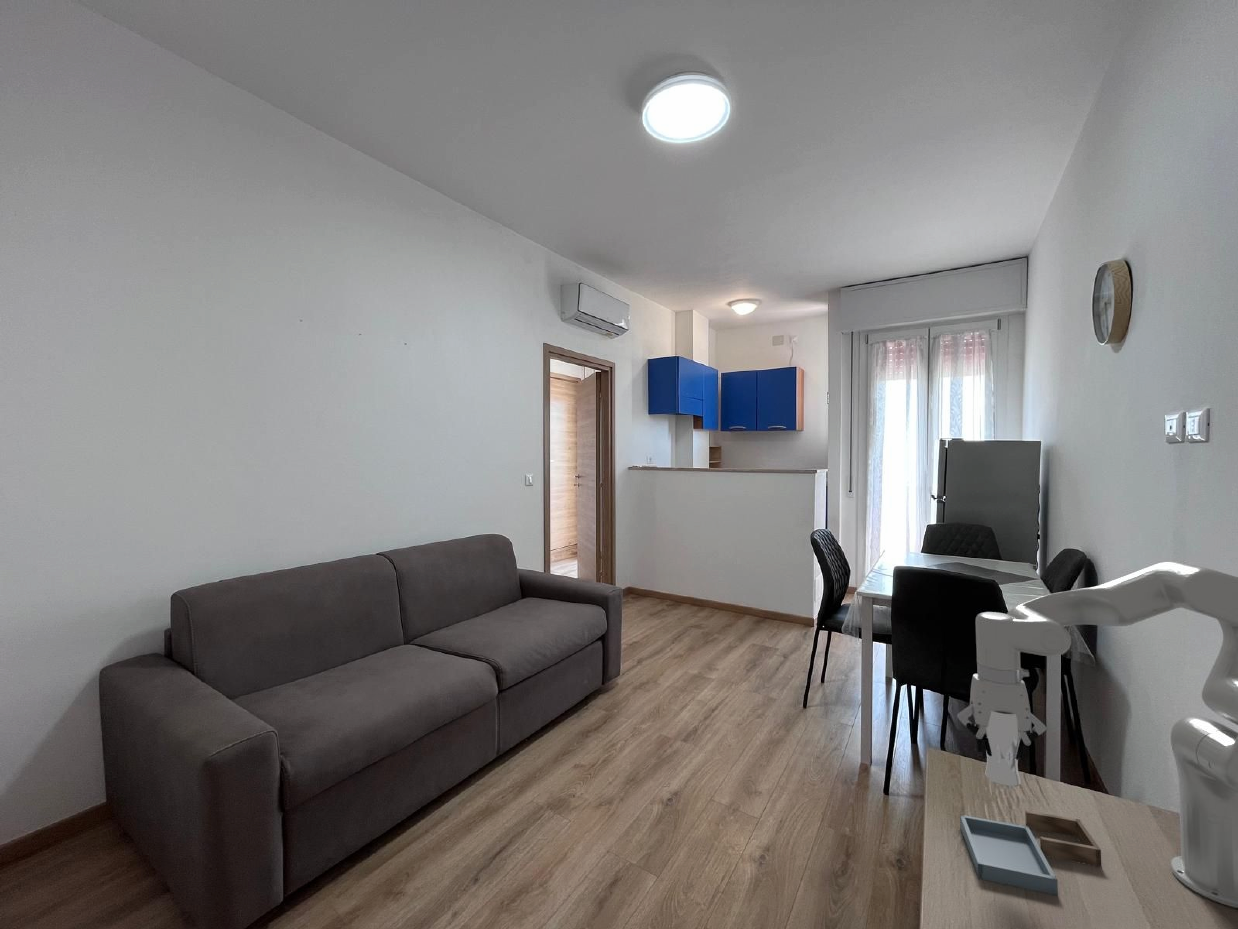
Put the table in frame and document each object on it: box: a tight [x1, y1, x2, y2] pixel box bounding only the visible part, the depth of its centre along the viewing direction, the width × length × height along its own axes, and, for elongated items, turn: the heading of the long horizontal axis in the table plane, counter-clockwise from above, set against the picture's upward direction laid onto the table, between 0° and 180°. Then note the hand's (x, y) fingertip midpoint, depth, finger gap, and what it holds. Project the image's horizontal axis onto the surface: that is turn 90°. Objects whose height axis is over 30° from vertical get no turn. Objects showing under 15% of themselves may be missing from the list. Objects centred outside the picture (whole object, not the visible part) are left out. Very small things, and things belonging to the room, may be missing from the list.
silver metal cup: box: [984, 711, 1022, 788], centre depth 113 cm, size 7×7×15 cm
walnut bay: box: [1024, 810, 1102, 867], centre depth 116 cm, size 10×10×4 cm
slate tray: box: [959, 814, 1059, 896], centre depth 113 cm, size 13×16×3 cm
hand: (1001, 757), depth 113 cm, fingers closed on silver metal cup, 6 cm apart
